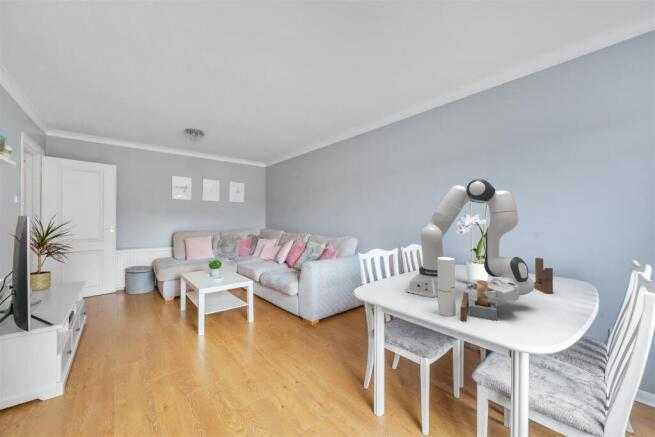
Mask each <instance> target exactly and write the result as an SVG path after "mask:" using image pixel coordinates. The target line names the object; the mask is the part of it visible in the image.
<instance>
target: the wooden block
mask: <svg viewBox="0 0 655 437" xmlns="http://www.w3.org/2000/svg"><path fill="white" fill-rule="evenodd" d="M534 261H535V262H534V263H535V264H534V266H535V268H534V269H535V272H534V274H535V275H534V276H535V281H533V282H534V289H536V290H538V291H540V292H541V293H543V294H545V295H549V294H550V295H553V294H554V275H553V274H554V273H553V272H554V269H553V267H544V258H543V257H535V260H534Z"/></svg>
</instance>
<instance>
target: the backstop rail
mask: <svg viewBox="0 0 655 437" xmlns="http://www.w3.org/2000/svg"><path fill="white" fill-rule="evenodd" d="M460 303H461V304H460V322H467V319H468V312H469V304H470V299H469V292H465V291H464V292H463V295H462V299H461V302H460Z"/></svg>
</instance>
